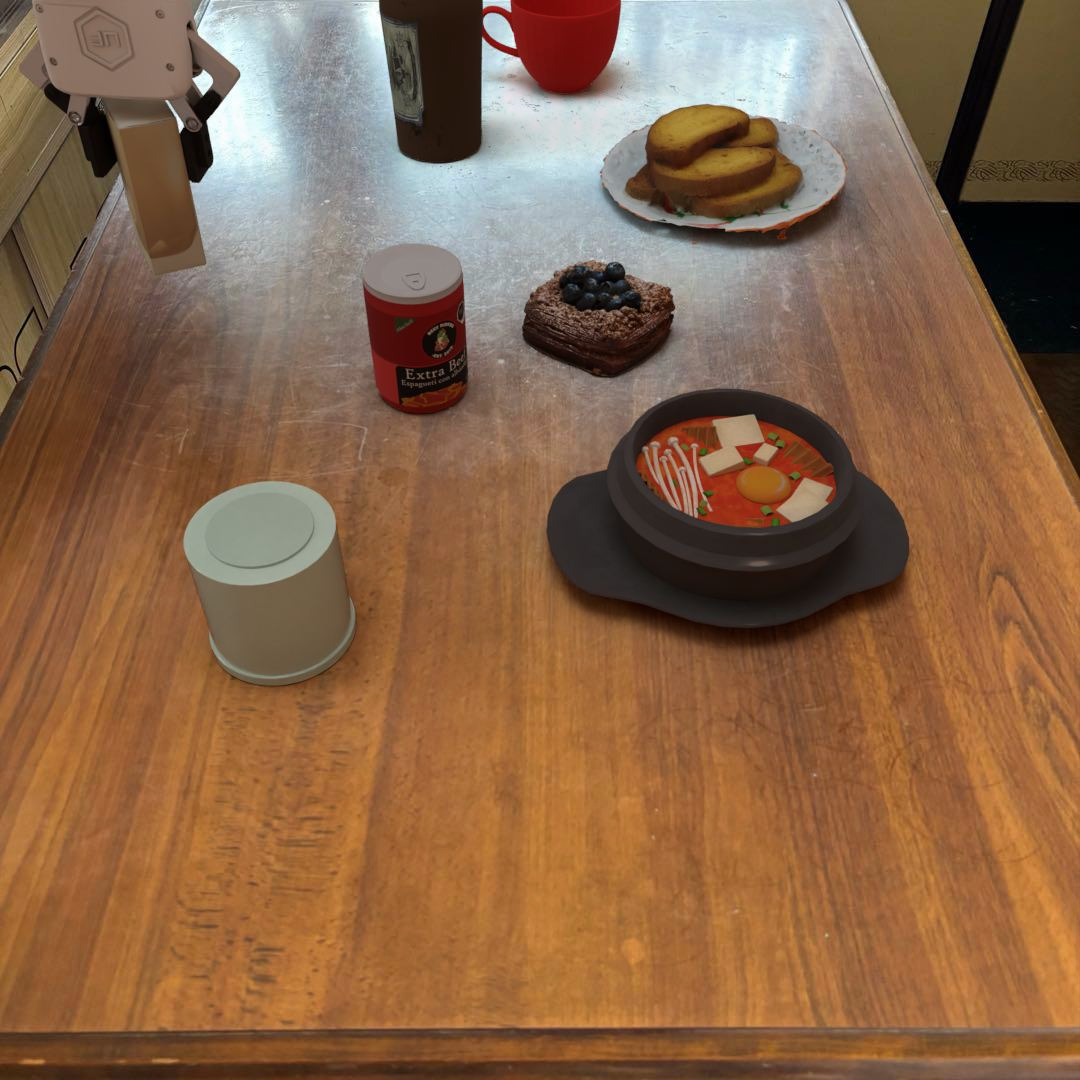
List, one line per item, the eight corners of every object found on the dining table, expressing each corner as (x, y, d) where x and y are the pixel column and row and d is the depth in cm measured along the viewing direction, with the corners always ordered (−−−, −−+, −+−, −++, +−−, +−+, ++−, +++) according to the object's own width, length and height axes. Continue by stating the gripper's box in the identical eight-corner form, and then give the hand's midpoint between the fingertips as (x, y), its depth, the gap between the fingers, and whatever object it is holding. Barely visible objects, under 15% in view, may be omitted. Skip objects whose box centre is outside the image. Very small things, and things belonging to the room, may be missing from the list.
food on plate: (840, 260, 106) (854, 197, 101) (584, 237, 109) (585, 174, 104) (839, 144, 123) (850, 85, 119) (618, 127, 127) (621, 69, 122)
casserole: (555, 655, 71) (556, 563, 65) (538, 467, 84) (539, 376, 78) (938, 639, 72) (974, 547, 66) (862, 455, 85) (886, 365, 79)
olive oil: (455, 116, 129) (442, -127, 111) (505, 150, 123) (500, -103, 105) (375, 139, 124) (349, -111, 107) (423, 175, 118) (403, -84, 101)
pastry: (617, 387, 91) (620, 327, 87) (503, 337, 96) (501, 278, 92) (687, 328, 97) (694, 269, 93) (577, 284, 103) (579, 226, 98)
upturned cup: (192, 681, 69) (157, 580, 63) (233, 573, 76) (205, 472, 69) (340, 690, 69) (320, 589, 62) (368, 581, 75) (352, 480, 69)
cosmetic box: (136, 242, 91) (97, 94, 82) (188, 231, 92) (155, 84, 84) (154, 279, 87) (115, 126, 78) (209, 266, 88) (177, 116, 80)
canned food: (404, 427, 87) (391, 307, 80) (359, 377, 92) (342, 260, 84) (487, 395, 90) (482, 277, 83) (438, 348, 95) (430, 232, 87)
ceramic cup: (483, 61, 141) (480, -23, 134) (616, 63, 140) (620, -21, 133) (475, 103, 131) (471, 16, 124) (617, 106, 131) (622, 18, 124)
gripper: (-63, -77, 70) (23, 189, 82) (206, -64, 69) (252, 201, 82) (-11, -108, 75) (62, 145, 88) (238, -97, 75) (277, 157, 87)
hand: (153, 170), depth 85 cm, fingers closed on cosmetic box, 6 cm apart
